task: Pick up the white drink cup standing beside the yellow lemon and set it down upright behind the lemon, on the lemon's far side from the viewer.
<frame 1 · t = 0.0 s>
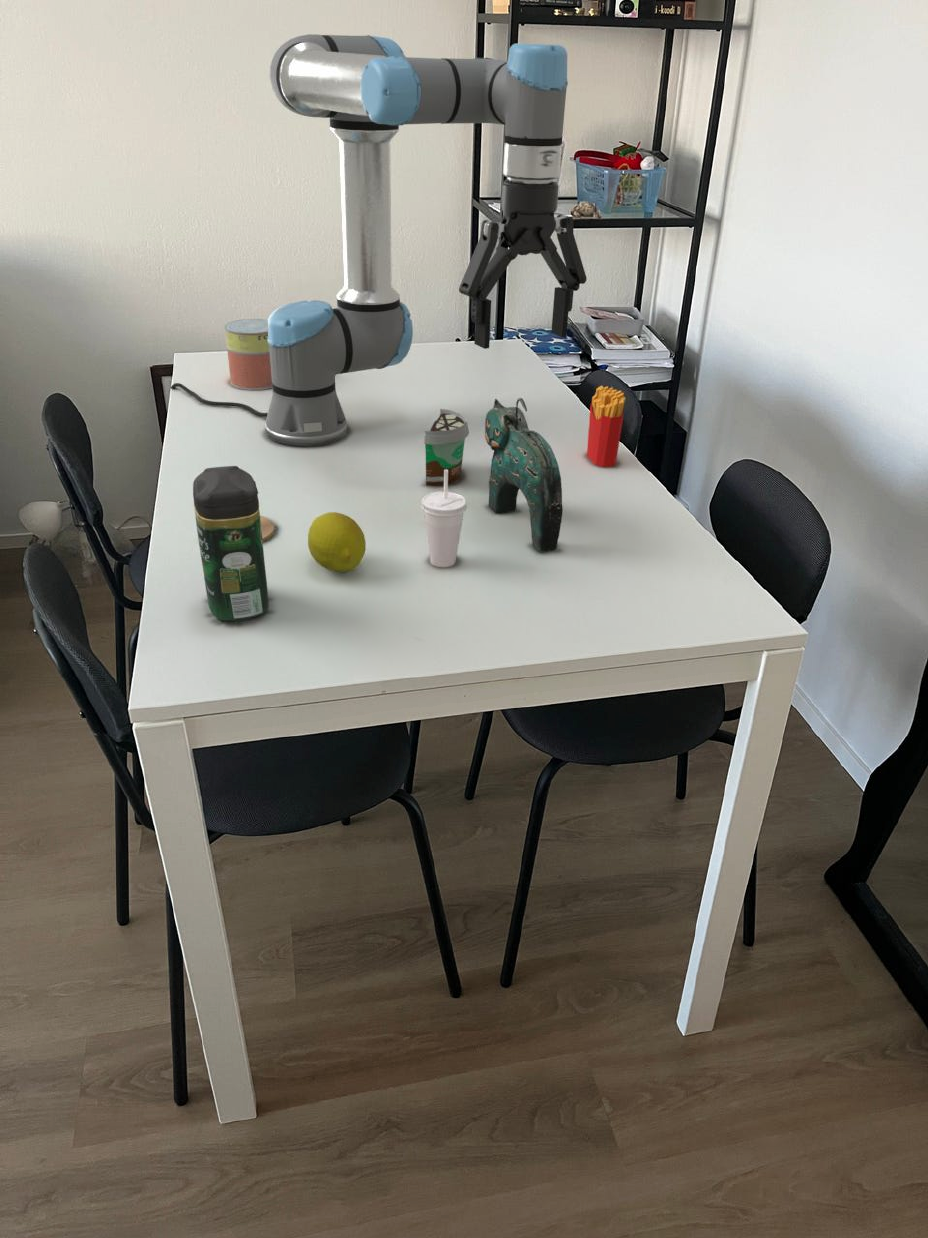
hand: (521, 340, 137), 28 cm above the table, tool pointing down, fingers open, 13 cm apart
ceramic cat: (522, 526, 148), on the table
food container: (449, 477, 164), on the table
coffee jar: (238, 606, 126), on the table
canned food: (257, 382, 205), on the table
lemon: (337, 567, 135), on the table
cork coaster: (241, 531, 144), on the table
french fries: (601, 461, 173), on the table
white drink cup: (442, 562, 138), on the table
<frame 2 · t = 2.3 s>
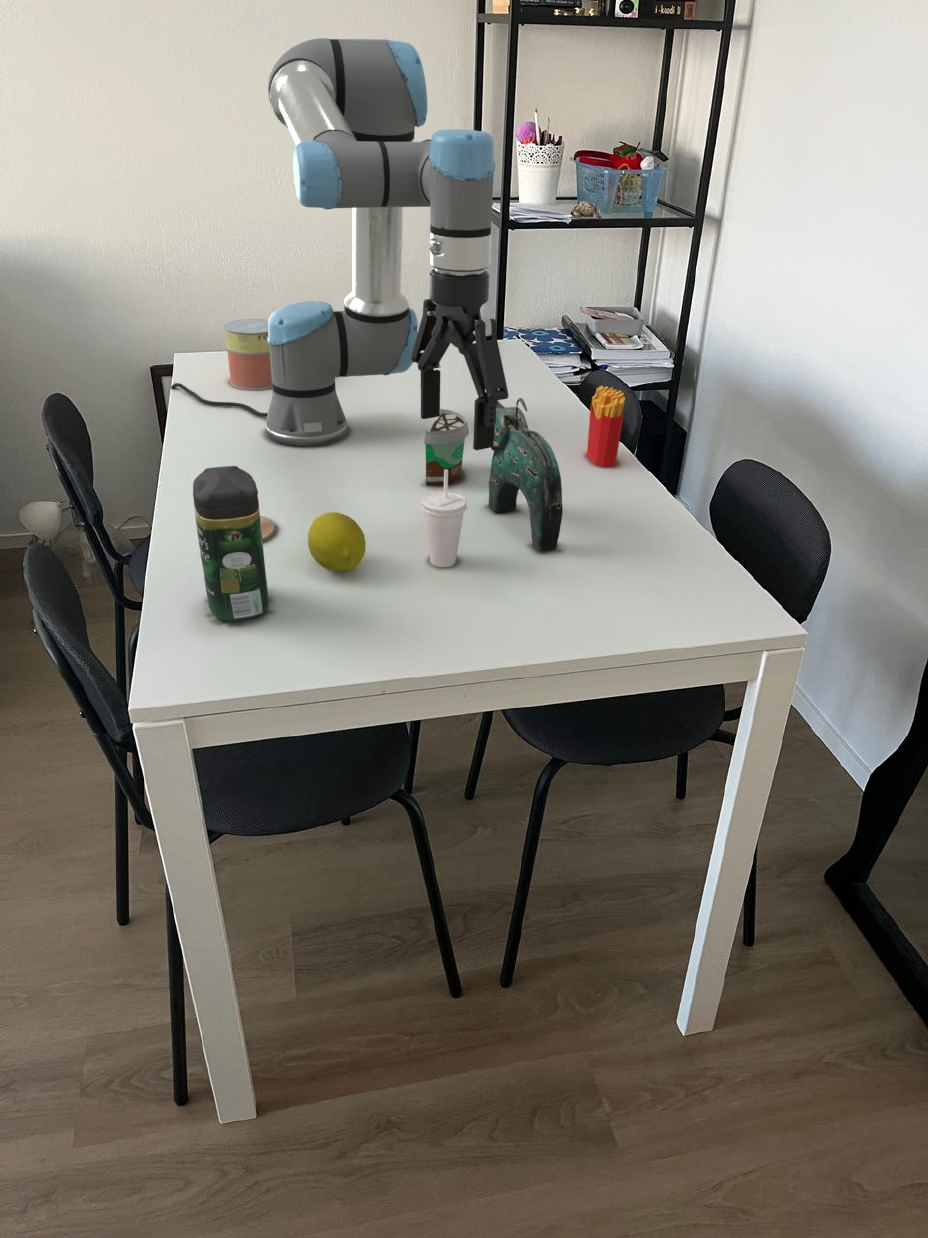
hand: (455, 432, 129), 19 cm above the table, tool pointing down, fingers open, 13 cm apart
nothing on the table moved.
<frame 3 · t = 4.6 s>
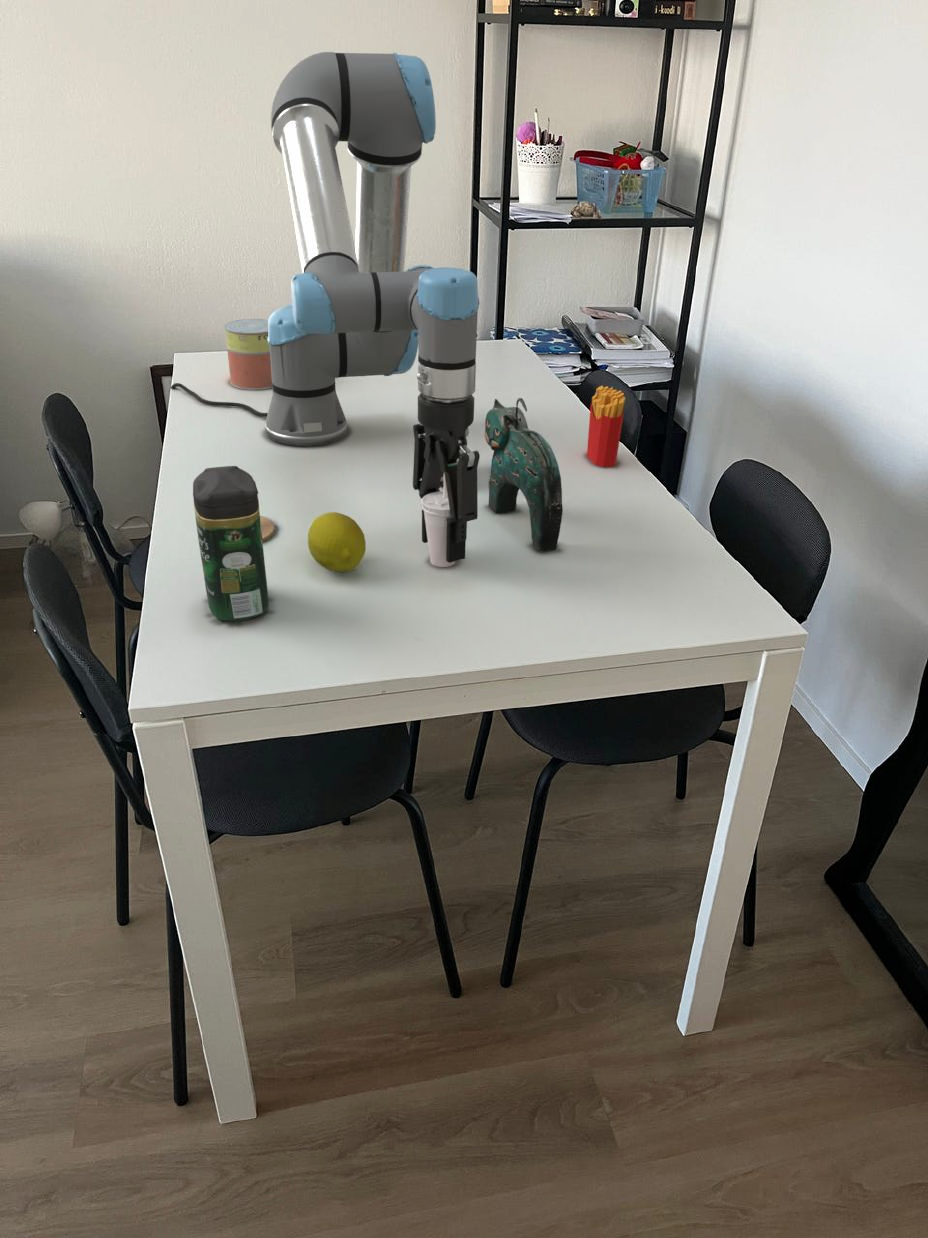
hand: (443, 549, 137), 2 cm above the table, tool pointing down, fingers closed on white drink cup, 6 cm apart
white drink cup: (442, 562, 138), on the table, touching gripper
everything else where it was.
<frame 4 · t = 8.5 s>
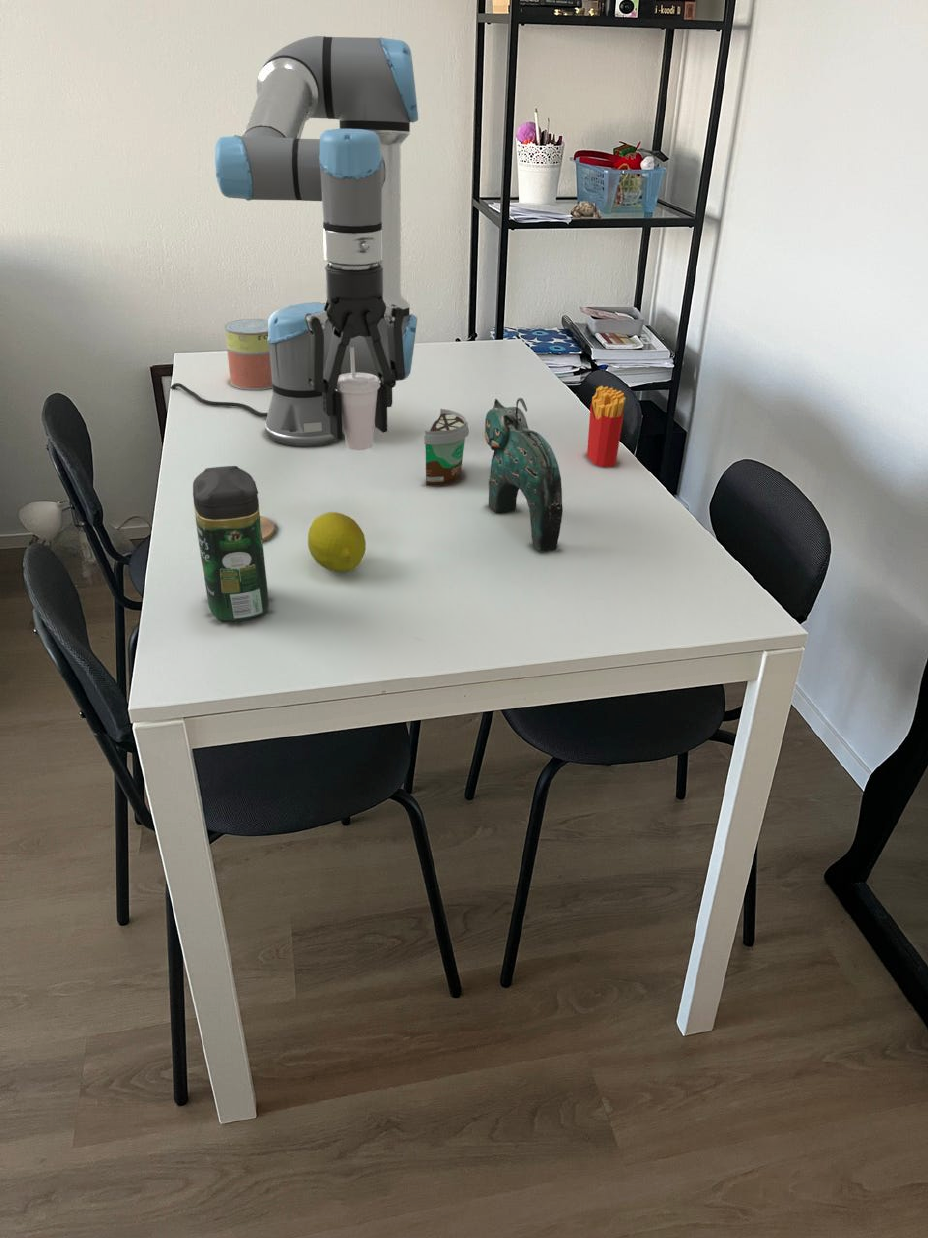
hand: (359, 432, 135), 17 cm above the table, tool pointing down, fingers closed on white drink cup, 6 cm apart
white drink cup: (359, 446, 136), point 14 cm above the table, touching gripper
everything else where it was.
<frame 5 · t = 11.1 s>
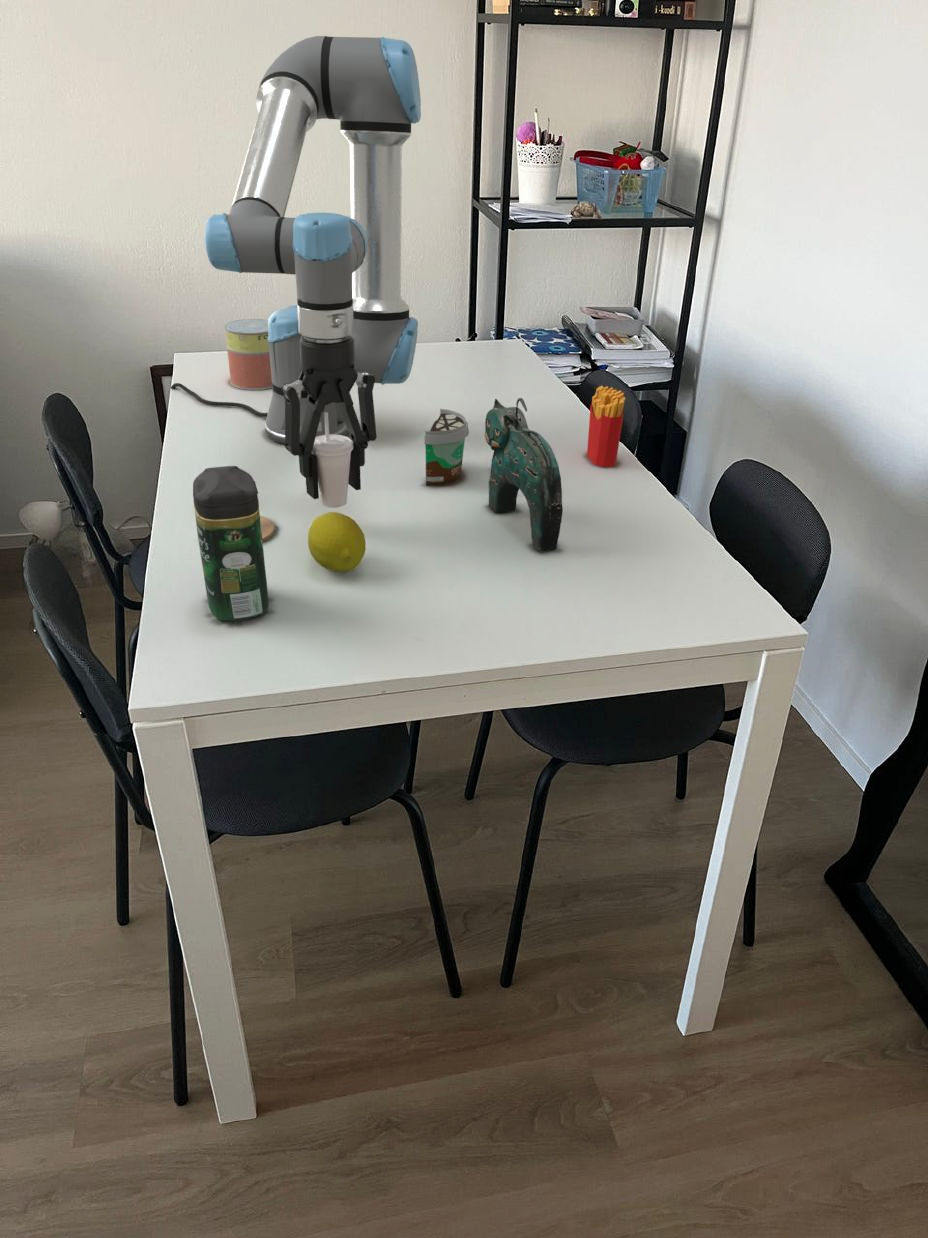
hand: (333, 490, 142), 6 cm above the table, tool pointing down, fingers closed on white drink cup, 6 cm apart
white drink cup: (334, 503, 143), point 4 cm above the table, touching gripper
everything else where it was.
when the fingers open (2 cm above the table, at t = 12.6 s): white drink cup stays where it is, on the table.
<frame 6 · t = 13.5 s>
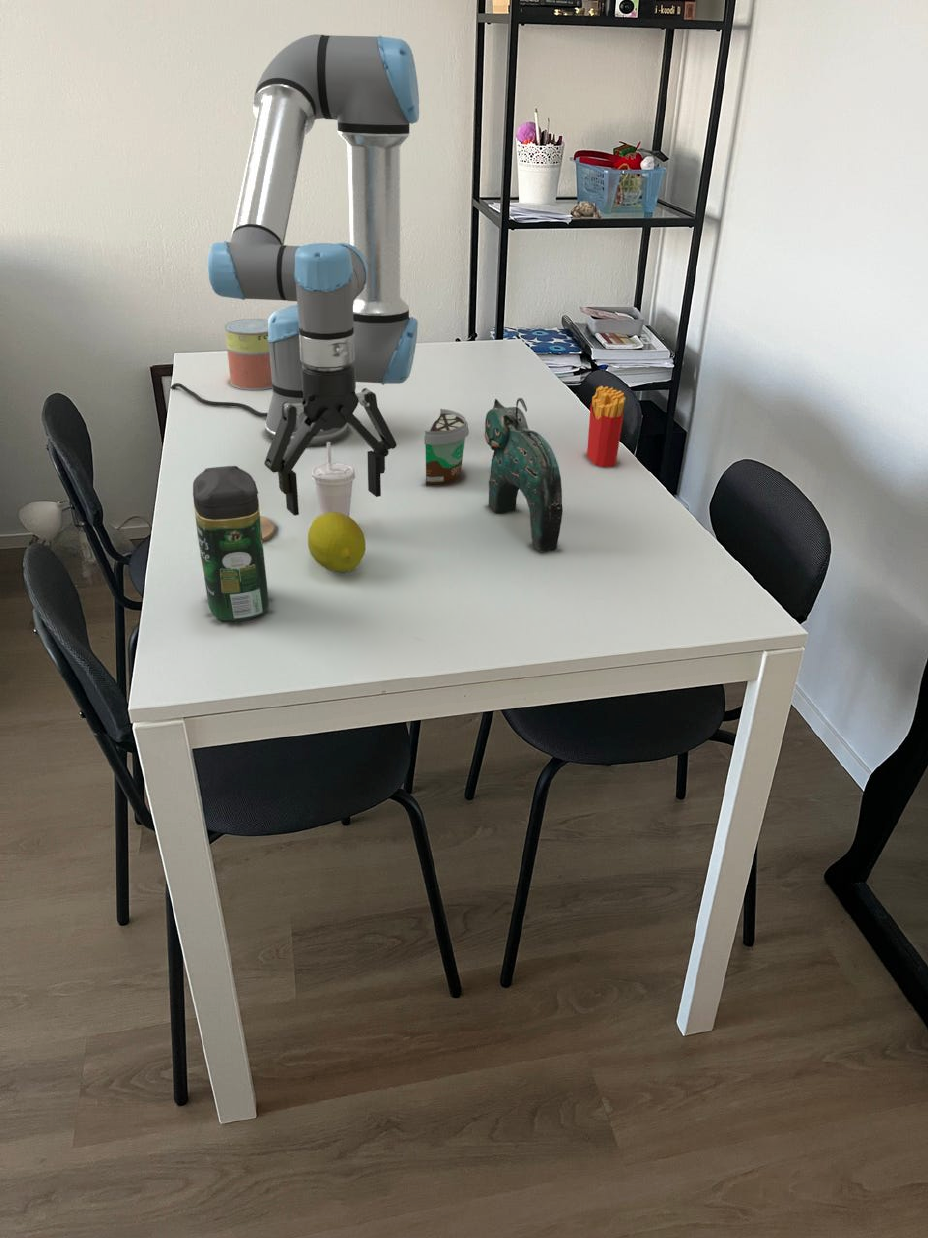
hand: (334, 502, 143), 4 cm above the table, tool pointing down, fingers open, 13 cm apart
white drink cup: (335, 530, 145), on the table
everything else where it was.
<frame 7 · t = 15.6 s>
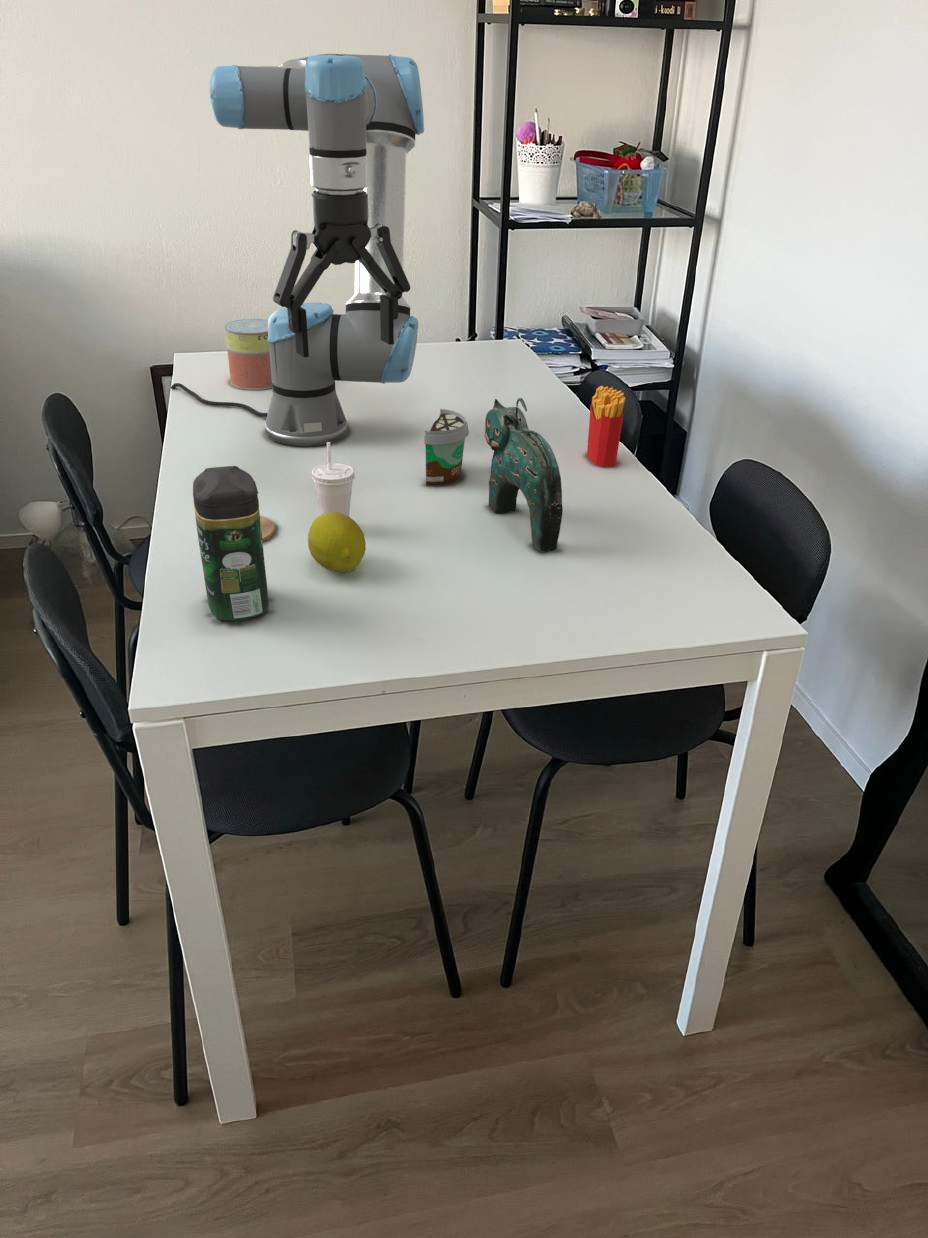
hand: (345, 348, 138), 26 cm above the table, tool pointing down, fingers open, 13 cm apart
nothing on the table moved.
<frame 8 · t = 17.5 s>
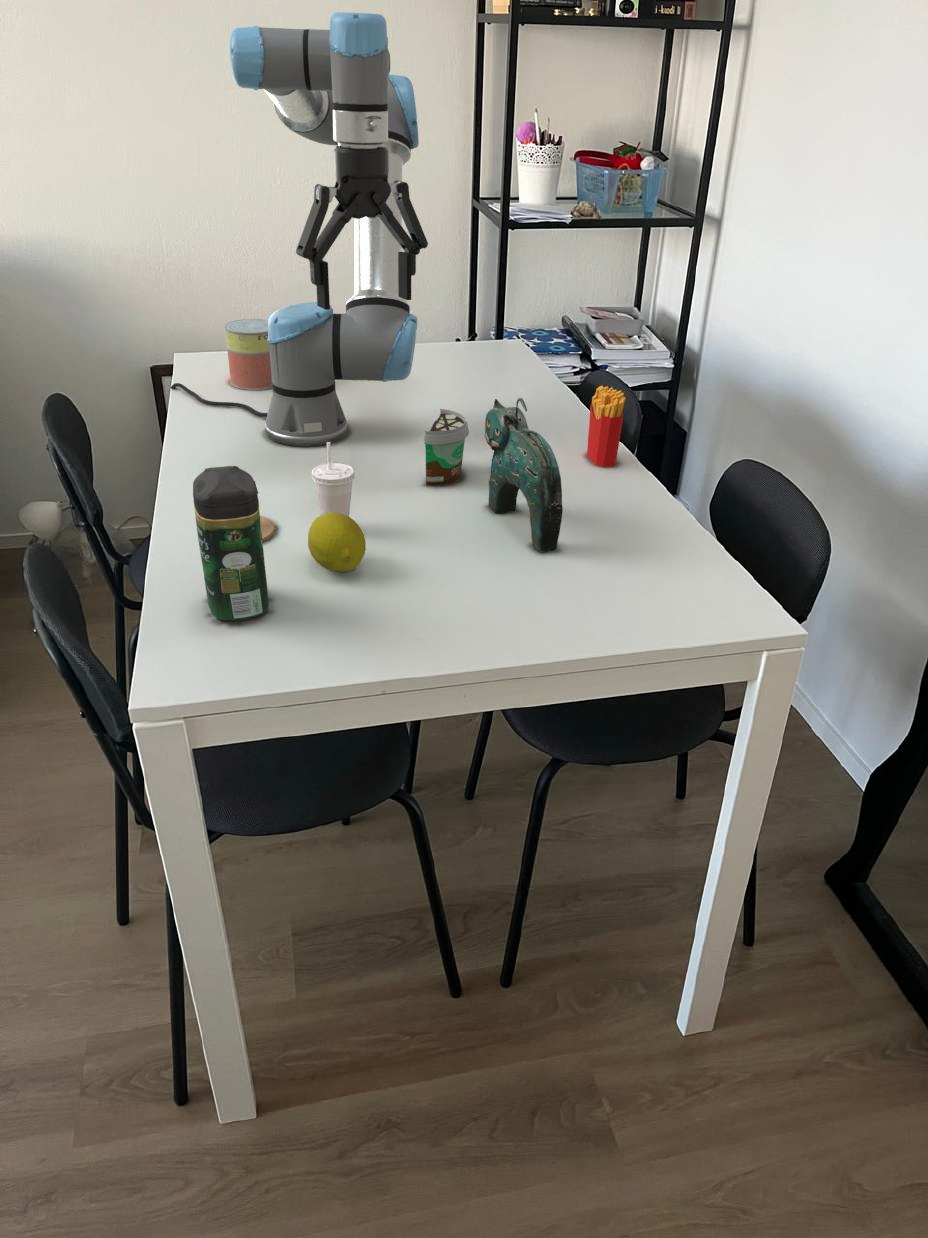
hand: (365, 302, 142), 31 cm above the table, tool pointing down, fingers open, 13 cm apart
nothing on the table moved.
at the end: white drink cup inside the target area on the table beside the lemon (0.2 cm from its centre), on the table; white drink cup tilted 0°; lemon moved 0.2 cm from its start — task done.
